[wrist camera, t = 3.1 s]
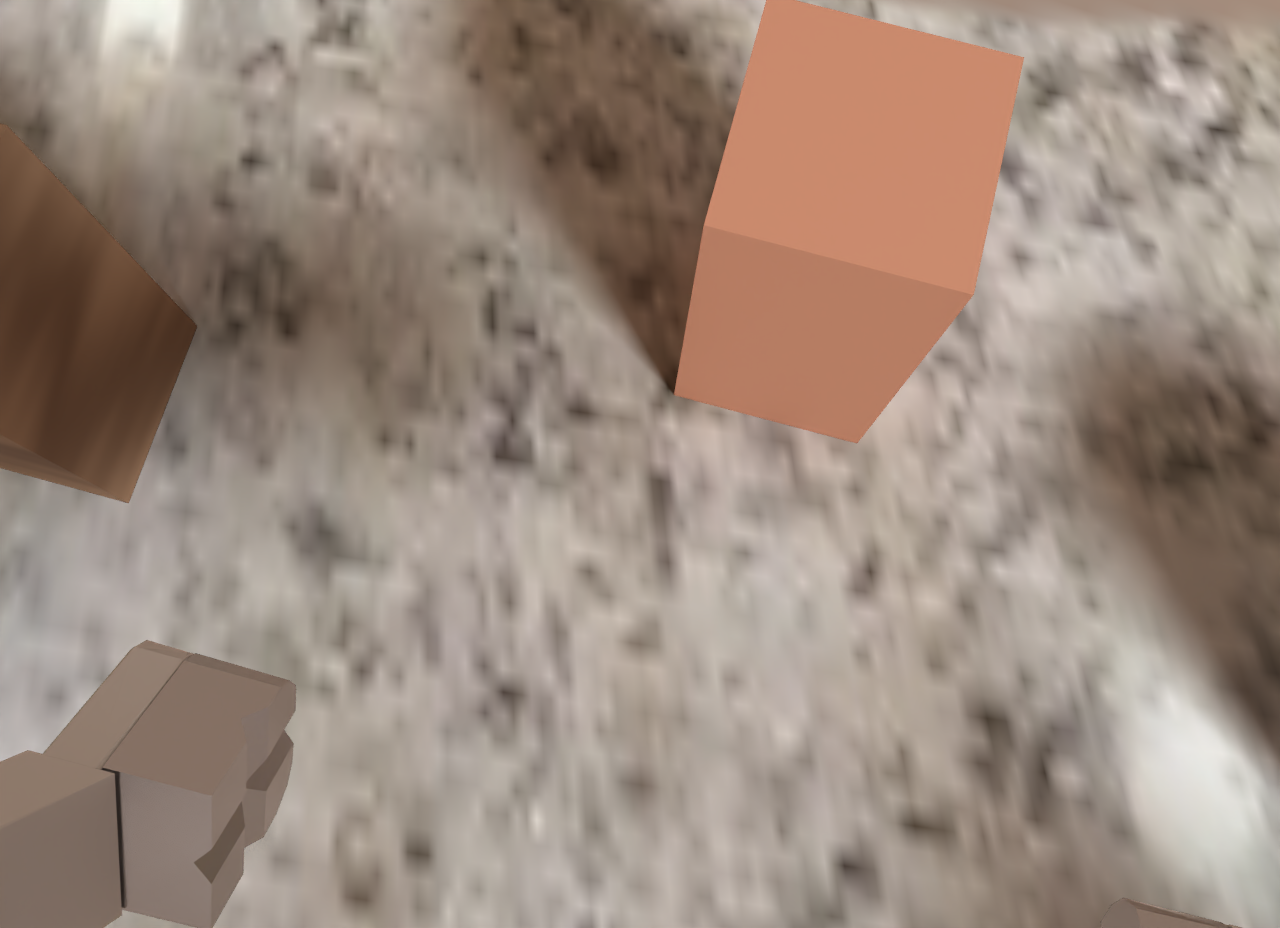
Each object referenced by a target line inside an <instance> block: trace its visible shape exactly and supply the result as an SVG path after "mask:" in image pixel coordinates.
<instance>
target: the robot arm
mask: <svg viewBox="0 0 1280 928" xmlns="http://www.w3.org/2000/svg"><path fill="white" fill-rule="evenodd" d="M295 710H296V685H295V684H294V683H293V682H291V681H290V680H287V679H283V678H280V677H276V676H273V675H269V674H266V673H262V672H259V671H256V670H252V669H249V668H245V667H242V666H238V665H235V664H231V663H228V662H224V661H221V660H217V659H214V658H211V657H207V656H204V655H200V654H197V653H195V654H193V653H190V652H186V651H183V650H179V649H176V648H172V647H169V646H165V645H162V644H159V643H155V642H152V641H148V640H146V641H144V642H142V643H141V644H139V645H137V646H135V647H134V648H132V649H131V650H130V651H129V652H128V653H127V655H126V656H125V657H124V658H123V659H122V660H121V662H120V663H119V664H118V665H117V666H116V668H115V669H114V670H113V671H112V672H111V674H110V675H109V676H108V677H107V678H106V679H105V681H104V682H103V683H102V684H101V685H100V687H99V688H98V689H97V690H96V691H95V692H94V694H93V695H92V696H91V697H90V698H89V700H88V701H87V702H86V703H85V704H84V705H83V707H82V708H81V709H80V710H79V711H78V713H77V714H76V715H75V716H74V717H73V718H72V720H71V721H70V722H69V723H68V724H67V726H66V727H65V728H64V729H63V730H62V732H61V733H60V734H59V735H58V736H57V737H56V739H55V740H54V741H53V742H52V743H51V745H50V746H49V747H48V748H47V749H46V750H45V752H44V753H43V754H41V753H37V752H33V751H28V750H27V751H25V752H22V753H20V754H18V755H15V756H13V757H11V758H8V759H6V760H4V761H1V762H0V928H104V927H105V926H107V925H108V924H110V923H111V922H113V921H114V920H116V919H117V918H119V917H120V916H121V915H122V910H126V911H130V912H134V913H138V914H142V915H146V916H151V917H155V918H159V919H163V920H167V921H172V922H176V923H180V924H184V925H188V926H192V927H197V928H213V926H214V924H215V923H216V921H217V919H218V917H219V915H220V914H221V912H222V910H223V908H224V907H225V905H226V903H227V901H228V900H229V898H230V896H231V894H232V893H233V891H234V889H235V887H236V886H237V884H238V882H239V880H240V879H241V877H242V875H243V866H244V848H245V847H247V846H248V845H250V844H252V843H254V842H256V841H258V840H259V839H261V838H263V837H264V836H265V834H266V832H267V830H268V828H269V827H270V825H271V823H272V821H273V819H274V817H275V815H276V814H277V811H278V808H279V806H280V803H281V800H282V798H283V795H284V792H285V790H286V787H287V784H288V780H289V775H290V770H291V766H292V759H293V745H294V743H293V742H292V740H291V739H290V738H289V736H288V735H287V733H286V732H285V730H284V729H285V727H286V726H287V724H288V722H289V721H290V719H291V717H292V716H293V714H294V712H295ZM1101 926H1102V928H1241V927H1238V926H1234V925H1225V924H1223V923H1221V922H1218V921H1214V920H1210V919H1206V918H1202V917H1198V916H1194V915H1190V914H1186V913H1182V912H1178V911H1174V910H1170V909H1166V908H1162V907H1158V906H1154V905H1150V904H1146V903H1142V902H1138V901H1134V900H1130V899H1126V898H1122V899H1120V900H1119V901H1117V902H1116V903H1114V904H1112V905H1111V907H1110V908H1109V910H1108V911H1107V913H1106V914H1105V916H1104V917H1103V919H1102V921H1101Z"/></svg>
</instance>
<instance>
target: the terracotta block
mask: <svg viewBox="0 0 1280 928" xmlns="http://www.w3.org/2000/svg"><path fill="white" fill-rule="evenodd" d="M1023 60H1024V57H1020V56H1016V55H1012V54H1008V53H1004V52H1000V51H996V50H992V49H988V48H984V47H980V46H976V45H972V44H968V43H964V42H960V41H956V40H952V39H948V38H944V37H940V36H936V35H932V34H928V33H924V32H920V31H916V30H912V29H908V28H904V27H900V26H896V25H892V24H888V23H884V22H880V21H876V20H872V19H868V18H864V17H860V16H856V15H852V14H848V13H844V12H840V11H836V10H832V9H828V8H824V7H820V6H816V5H812V4H808V3H804V2H800V1H796V0H766V4H765V7H764V11H763V14H762V18H761V22H760V25H759V29H758V32H757V36H756V40H755V43H754V47H753V50H752V54H751V57H750V61H749V65H748V68H747V72H746V75H745V79H744V83H743V86H742V90H741V93H740V97H739V101H738V104H737V108H736V111H735V115H734V118H733V122H732V126H731V129H730V133H729V136H728V140H727V144H726V147H725V151H724V154H723V158H722V162H721V165H720V169H719V172H718V176H717V180H716V183H715V187H714V190H713V194H712V197H711V201H710V205H709V208H708V212H707V215H706V219H705V223H704V227H703V232H702V238H701V244H700V250H699V255H698V261H697V267H696V272H695V278H694V284H693V289H692V295H691V301H690V306H689V312H688V318H687V324H686V329H685V335H684V341H683V346H682V352H681V358H680V363H679V369H678V375H677V380H676V386H675V392H674V395H676V396H680V397H684V398H687V399H691V400H695V401H699V402H702V403H706V404H710V405H714V406H718V407H721V408H725V409H729V410H733V411H736V412H740V413H744V414H748V415H752V416H755V417H759V418H763V419H767V420H771V421H774V422H778V423H782V424H786V425H789V426H793V427H797V428H801V429H805V430H808V431H812V432H816V433H820V434H823V435H827V436H831V437H835V438H839V439H842V440H846V441H850V442H854V443H858V442H859V440H860V439H861V438H862V437H863V435H864V434H865V433H866V431H867V430H868V429H869V428H870V426H871V425H872V424H873V423H874V421H875V420H876V419H877V417H878V416H879V415H880V414H881V412H882V411H883V410H884V409H885V407H886V406H887V405H888V403H889V402H890V401H891V400H892V398H893V397H894V396H895V394H896V393H897V392H898V391H899V389H900V388H901V387H902V386H903V384H904V383H905V382H906V380H907V379H908V378H909V377H910V375H911V374H912V373H913V371H914V370H915V369H916V368H917V366H918V365H919V364H920V363H921V361H922V360H923V359H924V357H925V356H926V355H927V354H928V352H929V351H930V350H931V349H932V347H933V346H934V345H935V343H936V342H937V341H938V340H939V338H940V337H941V336H942V334H943V333H944V332H945V331H946V329H947V328H948V327H949V326H950V324H951V323H952V322H953V320H954V319H955V318H956V317H957V315H958V314H959V313H960V312H961V310H962V309H963V308H964V306H965V305H966V304H967V303H968V301H969V300H970V299H971V297H972V296H973V295H974V290H975V286H976V281H977V276H978V272H979V267H980V262H981V257H982V253H983V248H984V243H985V239H986V234H987V229H988V225H989V220H990V215H991V210H992V206H993V201H994V196H995V192H996V187H997V182H998V177H999V173H1000V168H1001V163H1002V159H1003V154H1004V149H1005V145H1006V140H1007V135H1008V130H1009V126H1010V121H1011V116H1012V112H1013V107H1014V102H1015V97H1016V93H1017V88H1018V83H1019V79H1020V74H1021V69H1022V65H1023Z"/></svg>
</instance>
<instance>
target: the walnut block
mask: <svg viewBox="0 0 1280 928" xmlns="http://www.w3.org/2000/svg"><path fill="white" fill-rule="evenodd" d="M196 328H197V325H196V324H195V323H194V322H193V321H192V320H191V319H190V318H189V317H188V316H187V315H186V314H185V313H184V312H183V311H182V310H181V309H180V308H179V306H178V305H177V304H176V303H175V302H174V301H173V300H172V299H171V298H170V297H169V296H168V295H167V294H166V293H165V292H164V291H163V290H162V289H161V287H160V286H159V285H158V284H157V283H156V282H155V281H154V280H153V279H152V278H151V277H150V276H149V275H148V274H147V273H146V272H145V271H144V270H143V268H142V267H141V266H140V265H139V264H138V263H137V262H136V261H135V260H134V259H133V258H132V257H131V256H130V255H129V254H128V253H127V252H126V251H125V249H124V248H123V247H122V246H121V245H120V244H119V243H118V242H117V241H116V240H115V239H114V238H113V237H112V236H111V235H110V234H109V233H108V232H107V231H106V229H105V228H104V227H103V226H102V225H101V224H100V223H99V222H98V221H97V220H96V219H95V218H94V217H93V216H92V215H91V214H90V213H89V212H88V210H87V209H86V208H85V207H84V206H83V205H82V204H81V203H80V202H79V201H78V200H77V199H76V198H75V197H74V196H73V195H72V194H71V193H70V191H69V190H68V189H67V188H66V187H65V186H64V185H63V184H62V183H61V182H60V181H59V180H58V179H57V178H56V177H55V176H54V175H53V174H52V173H51V171H50V170H49V169H48V168H47V167H46V166H45V165H44V164H43V163H42V162H41V161H40V160H39V159H38V158H37V157H36V156H35V155H34V154H33V152H32V151H31V150H30V149H29V148H28V147H27V146H26V145H25V144H24V143H23V142H22V141H21V140H20V139H19V138H18V137H17V136H16V135H15V133H14V132H13V131H12V130H11V129H10V128H9V127H8V126H7V125H4V124H0V468H3V469H6V470H10V471H14V472H17V473H21V474H24V475H28V476H32V477H35V478H39V479H43V480H46V481H50V482H54V483H57V484H61V485H65V486H68V487H72V488H75V489H79V490H83V491H86V492H90V493H94V494H97V495H101V496H105V497H108V498H112V499H116V500H119V501H123V502H127V503H129V501H130V498H131V496H132V493H133V490H134V488H135V485H136V483H137V480H138V478H139V475H140V472H141V470H142V467H143V465H144V462H145V460H146V457H147V454H148V452H149V449H150V447H151V444H152V441H153V439H154V436H155V434H156V431H157V429H158V426H159V423H160V421H161V418H162V416H163V413H164V411H165V408H166V405H167V403H168V400H169V398H170V395H171V393H172V390H173V387H174V385H175V382H176V380H177V377H178V374H179V372H180V369H181V367H182V364H183V362H184V359H185V356H186V354H187V351H188V349H189V346H190V344H191V341H192V338H193V336H194V333H195V331H196Z"/></svg>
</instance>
